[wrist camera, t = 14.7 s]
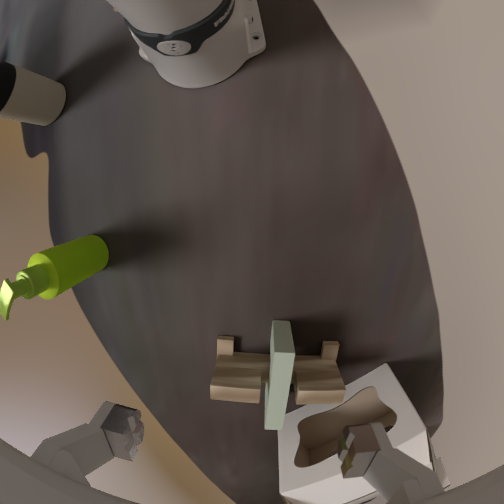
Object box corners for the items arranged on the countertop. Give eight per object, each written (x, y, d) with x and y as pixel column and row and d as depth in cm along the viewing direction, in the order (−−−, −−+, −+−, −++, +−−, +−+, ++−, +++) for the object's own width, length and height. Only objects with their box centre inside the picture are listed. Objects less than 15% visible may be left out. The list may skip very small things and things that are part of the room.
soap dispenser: (72, 258, 41) (-15, 299, 22) (90, 226, 40) (-4, 256, 21) (95, 282, 42) (14, 336, 23) (115, 252, 41) (27, 297, 21)
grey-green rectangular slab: (272, 320, 42) (274, 352, 33) (289, 320, 42) (295, 353, 33) (265, 392, 45) (264, 429, 36) (279, 392, 45) (281, 429, 36)
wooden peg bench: (218, 335, 43) (208, 368, 34) (337, 341, 42) (352, 374, 34) (218, 376, 45) (209, 412, 36) (328, 381, 44) (339, 416, 35)
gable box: (387, 360, 43) (460, 485, 16) (405, 402, 45) (461, 508, 18) (275, 417, 46) (278, 553, 19) (307, 450, 49) (319, 565, 21)
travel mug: (69, 112, 36) (-8, 91, 19) (37, 133, 37) (-38, 124, 19) (65, 75, 35) (-4, 45, 17) (34, 97, 35) (-35, 79, 18)
